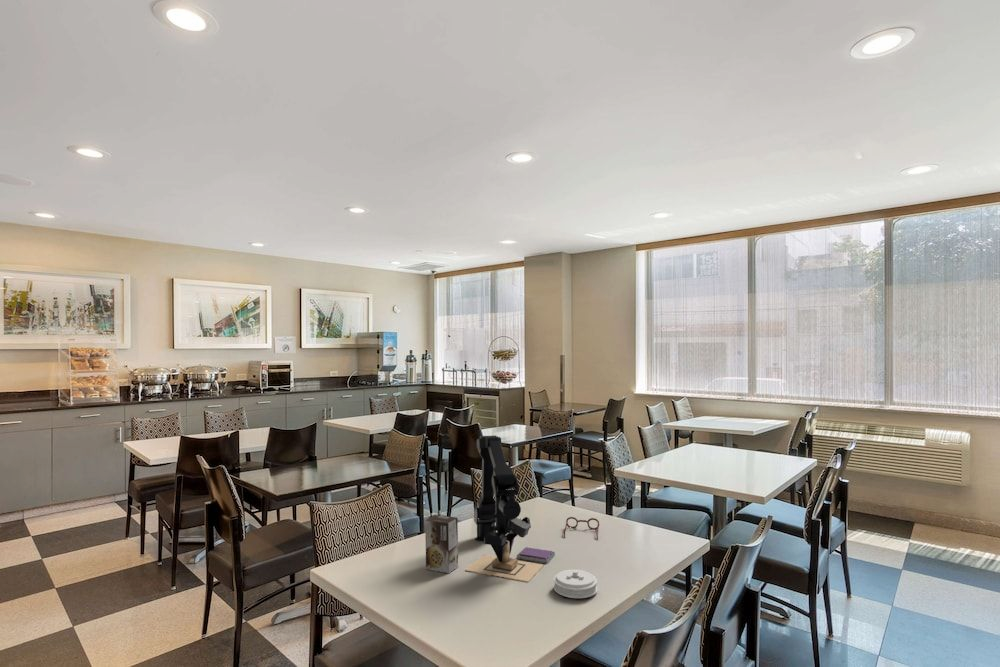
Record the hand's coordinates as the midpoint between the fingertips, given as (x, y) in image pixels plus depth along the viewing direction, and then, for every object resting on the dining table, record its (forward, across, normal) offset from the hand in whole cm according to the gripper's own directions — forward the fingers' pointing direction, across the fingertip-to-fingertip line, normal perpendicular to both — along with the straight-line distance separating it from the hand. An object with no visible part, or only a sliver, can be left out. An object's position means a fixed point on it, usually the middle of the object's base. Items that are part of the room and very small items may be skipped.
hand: (504, 558), depth 174 cm
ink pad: (+3, +13, -6) cm, 15 cm away
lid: (+4, -7, -26) cm, 27 cm away
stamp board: (+3, 0, 0) cm, 3 cm away
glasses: (+4, +42, -14) cm, 45 cm away
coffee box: (+3, -8, +19) cm, 21 cm away
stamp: (+3, 0, 0) cm, 3 cm away
